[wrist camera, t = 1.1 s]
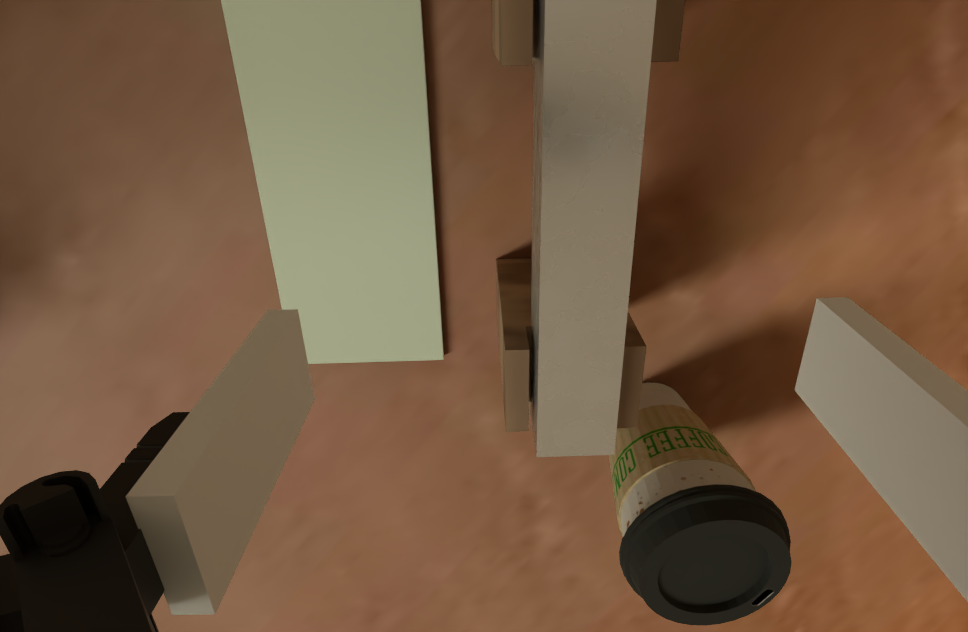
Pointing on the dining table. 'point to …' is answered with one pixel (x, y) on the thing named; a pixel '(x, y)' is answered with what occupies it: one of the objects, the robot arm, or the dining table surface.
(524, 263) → the post
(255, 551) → the dining table surface
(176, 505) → the robot arm
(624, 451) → the coffee cup
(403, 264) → the mat
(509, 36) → the post
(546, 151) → the rail
